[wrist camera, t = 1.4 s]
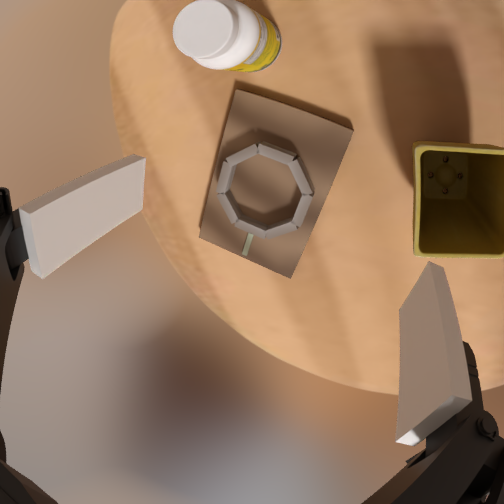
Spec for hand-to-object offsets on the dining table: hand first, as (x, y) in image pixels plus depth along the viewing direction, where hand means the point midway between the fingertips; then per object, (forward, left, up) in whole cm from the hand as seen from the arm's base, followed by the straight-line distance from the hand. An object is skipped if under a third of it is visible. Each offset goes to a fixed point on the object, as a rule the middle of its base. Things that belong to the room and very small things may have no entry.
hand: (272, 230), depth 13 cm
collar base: (+6, -4, -20) cm, 21 cm away
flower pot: (-3, +12, -20) cm, 23 cm away
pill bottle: (-8, -10, -20) cm, 24 cm away
